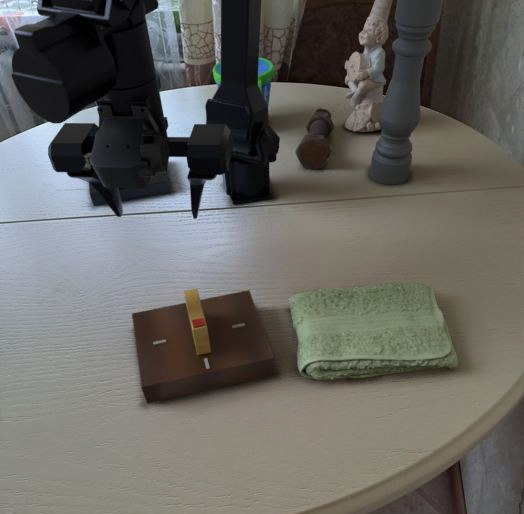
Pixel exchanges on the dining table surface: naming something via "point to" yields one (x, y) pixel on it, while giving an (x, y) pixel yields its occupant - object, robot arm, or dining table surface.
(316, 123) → the bolt
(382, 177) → the candle holder
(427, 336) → the washcloth
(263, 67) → the snack cup
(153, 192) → the block
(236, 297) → the panel
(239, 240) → the dining table surface
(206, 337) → the lock knob
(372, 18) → the figurine
